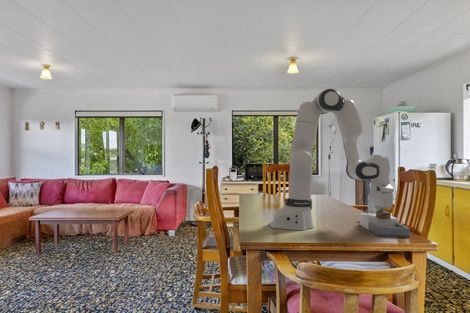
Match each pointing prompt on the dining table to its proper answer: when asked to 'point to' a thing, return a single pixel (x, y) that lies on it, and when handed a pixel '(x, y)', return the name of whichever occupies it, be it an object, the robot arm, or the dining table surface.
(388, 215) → the walnut tile
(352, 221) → the dining table surface
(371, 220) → the raised plate
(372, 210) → the syrup box
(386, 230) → the box
